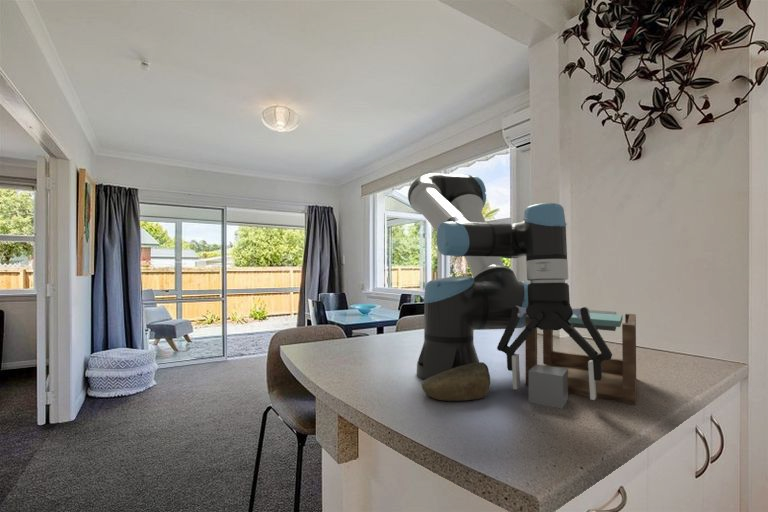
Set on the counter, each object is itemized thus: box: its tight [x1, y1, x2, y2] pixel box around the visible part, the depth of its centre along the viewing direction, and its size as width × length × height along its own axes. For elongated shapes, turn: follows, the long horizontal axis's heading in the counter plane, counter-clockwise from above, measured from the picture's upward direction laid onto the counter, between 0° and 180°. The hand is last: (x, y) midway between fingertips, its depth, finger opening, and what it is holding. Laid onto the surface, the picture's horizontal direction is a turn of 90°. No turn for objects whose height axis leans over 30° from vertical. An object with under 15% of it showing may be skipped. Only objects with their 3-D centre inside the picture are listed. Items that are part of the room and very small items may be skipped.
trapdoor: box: [569, 309, 623, 332], centre depth 87 cm, size 15×18×4 cm
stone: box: [421, 361, 491, 402], centre depth 75 cm, size 9×14×10 cm, turn 110°
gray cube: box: [528, 363, 569, 410], centre depth 73 cm, size 6×6×6 cm
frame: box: [524, 313, 637, 406], centre depth 84 cm, size 20×20×15 cm
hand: (553, 392), depth 72 cm, fingers open, 13 cm apart
